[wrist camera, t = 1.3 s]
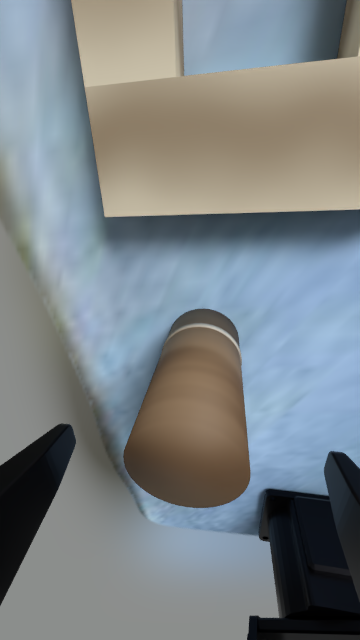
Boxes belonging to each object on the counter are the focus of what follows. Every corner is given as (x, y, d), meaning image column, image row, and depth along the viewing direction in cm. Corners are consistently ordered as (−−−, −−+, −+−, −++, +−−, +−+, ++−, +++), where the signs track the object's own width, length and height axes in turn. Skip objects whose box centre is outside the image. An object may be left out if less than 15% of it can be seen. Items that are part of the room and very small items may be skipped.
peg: (237, 370, 16) (246, 516, 9) (170, 366, 17) (130, 499, 9) (241, 308, 14) (258, 429, 7) (166, 306, 15) (112, 415, 8)
